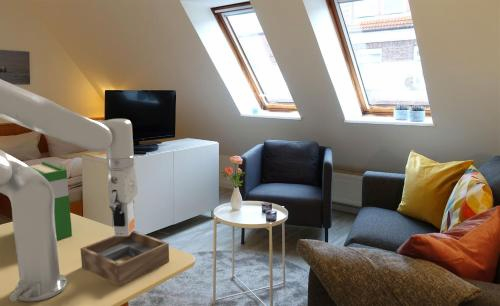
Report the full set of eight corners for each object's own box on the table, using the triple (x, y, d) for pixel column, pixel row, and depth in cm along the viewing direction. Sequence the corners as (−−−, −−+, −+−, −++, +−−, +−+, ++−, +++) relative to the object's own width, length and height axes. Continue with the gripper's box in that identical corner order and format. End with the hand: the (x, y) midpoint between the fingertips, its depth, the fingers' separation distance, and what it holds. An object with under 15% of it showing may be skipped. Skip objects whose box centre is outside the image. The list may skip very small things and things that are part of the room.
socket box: (169, 261, 125) (168, 243, 124) (120, 286, 111) (118, 266, 110) (131, 246, 136) (130, 229, 134) (81, 267, 121) (80, 248, 120)
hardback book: (29, 228, 149) (22, 164, 144) (50, 223, 155) (44, 161, 150) (50, 242, 138) (43, 173, 133) (72, 236, 143) (66, 169, 138)
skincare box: (129, 236, 118) (126, 197, 116) (114, 236, 118) (111, 197, 116) (135, 228, 124) (133, 190, 122) (121, 228, 124) (119, 190, 122)
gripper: (120, 170, 108) (125, 233, 112) (143, 156, 125) (146, 211, 129) (93, 169, 109) (98, 232, 113) (120, 155, 126) (123, 210, 129)
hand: (124, 220), depth 121 cm, fingers closed on skincare box, 6 cm apart
